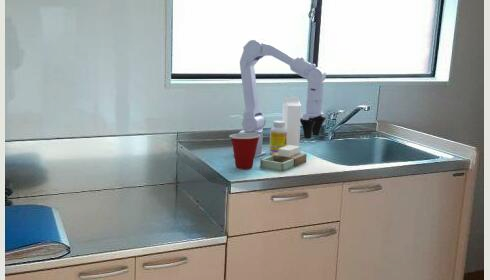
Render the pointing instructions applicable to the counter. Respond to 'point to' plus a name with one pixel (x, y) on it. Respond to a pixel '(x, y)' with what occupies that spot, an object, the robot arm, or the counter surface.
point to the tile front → (286, 152)
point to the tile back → (297, 148)
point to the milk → (292, 119)
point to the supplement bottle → (277, 136)
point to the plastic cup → (244, 149)
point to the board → (297, 158)
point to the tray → (276, 164)
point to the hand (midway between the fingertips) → (311, 136)
